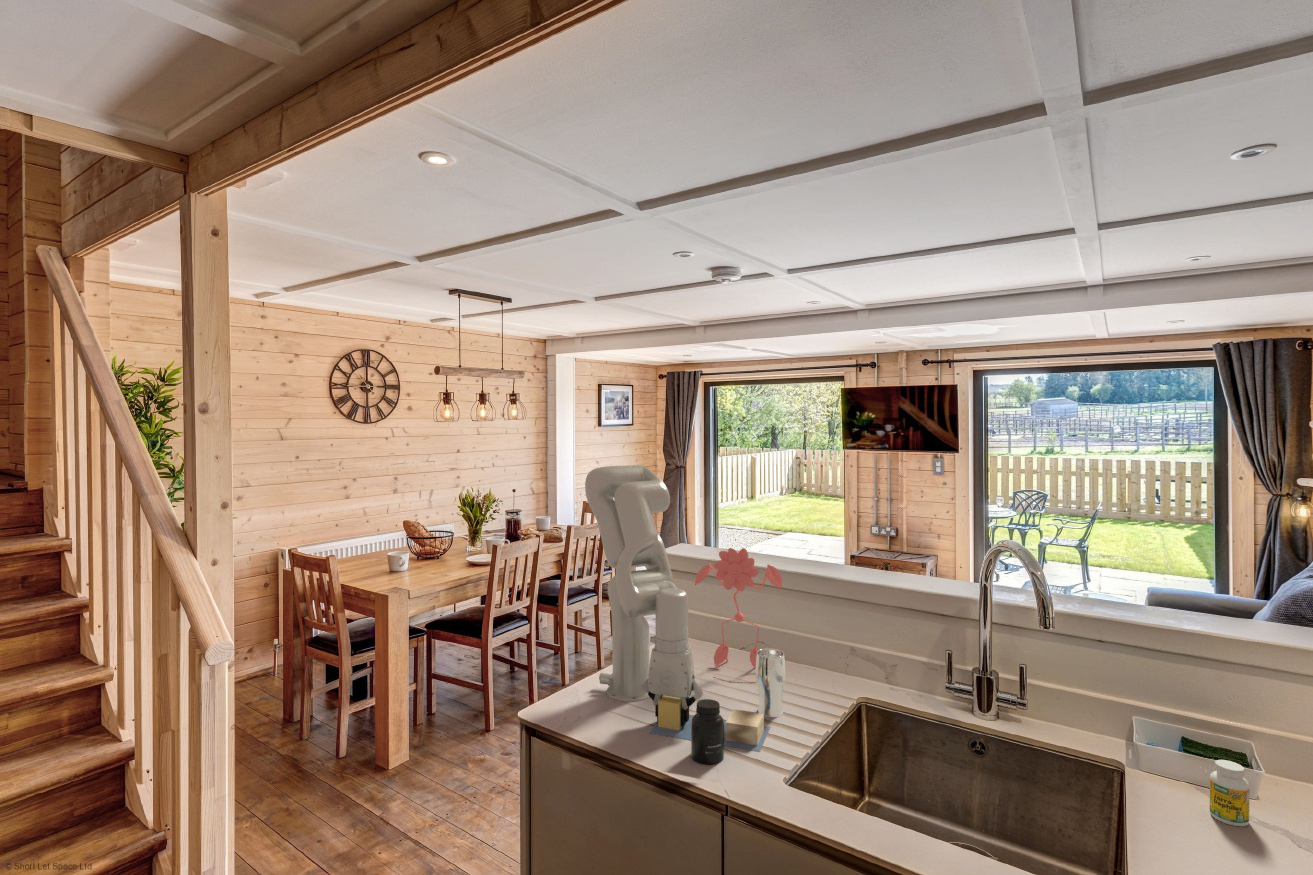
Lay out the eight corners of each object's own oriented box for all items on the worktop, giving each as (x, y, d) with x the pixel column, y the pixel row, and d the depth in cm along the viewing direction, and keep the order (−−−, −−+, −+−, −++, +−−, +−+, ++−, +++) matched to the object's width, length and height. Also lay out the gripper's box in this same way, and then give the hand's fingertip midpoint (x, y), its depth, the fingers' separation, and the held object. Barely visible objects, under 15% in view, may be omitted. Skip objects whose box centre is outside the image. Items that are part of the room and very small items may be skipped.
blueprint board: (648, 736, 151) (648, 733, 151) (666, 714, 163) (666, 710, 163) (759, 755, 143) (759, 751, 143) (770, 730, 154) (770, 727, 154)
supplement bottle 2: (1250, 818, 120) (1251, 764, 119) (1247, 831, 116) (1249, 776, 116) (1211, 805, 124) (1212, 754, 123) (1207, 818, 120) (1208, 765, 119)
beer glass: (785, 722, 158) (785, 658, 157) (754, 720, 159) (754, 657, 159) (785, 709, 165) (785, 648, 164) (756, 707, 166) (756, 647, 166)
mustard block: (658, 726, 154) (658, 700, 154) (665, 717, 159) (665, 692, 159) (679, 730, 153) (679, 704, 152) (685, 720, 157) (685, 695, 157)
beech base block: (725, 740, 148) (725, 722, 148) (733, 726, 154) (733, 709, 154) (757, 745, 145) (757, 727, 145) (763, 731, 152) (763, 713, 152)
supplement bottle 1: (714, 772, 136) (714, 713, 136) (685, 763, 140) (685, 705, 139) (729, 757, 142) (729, 701, 142) (701, 749, 146) (700, 694, 145)
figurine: (700, 656, 201) (699, 539, 199) (787, 669, 191) (787, 546, 189) (682, 675, 187) (681, 550, 185) (774, 690, 177) (774, 558, 175)
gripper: (631, 644, 155) (631, 723, 155) (703, 653, 149) (703, 735, 149) (643, 634, 162) (643, 709, 162) (712, 642, 156) (712, 720, 156)
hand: (672, 721), depth 156 cm, fingers closed on mustard block, 5 cm apart
